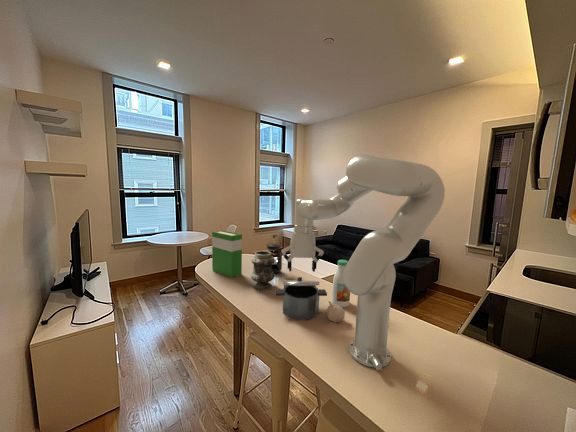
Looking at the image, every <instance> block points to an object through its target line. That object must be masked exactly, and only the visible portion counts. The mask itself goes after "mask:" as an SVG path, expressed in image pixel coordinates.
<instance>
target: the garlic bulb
mask: <svg viewBox="0 0 576 432" xmlns="http://www.w3.org/2000/svg"><path fill="white" fill-rule="evenodd" d="M328 303H329V306H327V309H326V310H327V311H326V317H327V319H328V320H329V321H331V322H334V323H339V322H342V321H344V319H345V315H346V314H345V313H346V312H345V310H344V307H340V306H338V305H336V304H333V303H332V301H328Z"/></svg>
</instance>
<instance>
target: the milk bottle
mask: <svg viewBox="0 0 576 432" xmlns="http://www.w3.org/2000/svg"><path fill="white" fill-rule="evenodd" d="M348 261H349V260H346V259H339V260H337V269H336V270H335V273H334V275H333V279H332V280H333V281H332V293H331V296H332V297H331V303H332V304H336V305H338V306H340V307H342V308H347V307H349V305H350V300H351V292H349V291H348V290H347V288H346V287H345V285H344V281H343V272H344V269H345V267H346V265H347V263H348Z"/></svg>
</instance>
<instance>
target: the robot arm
mask: <svg viewBox="0 0 576 432" xmlns="http://www.w3.org/2000/svg"><path fill="white" fill-rule="evenodd" d="M345 174H346V175H345V176H344V177H342V178H340V179H339V180H338V182H337V185H336V189H337V194H335V195H334V196H333V197H331V198H328V199H327V198H325V199H322V198H320V199H311V198H297V199H296V200H295V202H294V204H295V205H294V208H295V209H294V224H293V225H294V227H293V231H292V233H291V236H290V237H291V238H290V241H289V242H290V243H289V246H287V247H284V248H282V249H280V252H281V255H282V257H284V259H285V260H286V261H287V269H288V271H289V272H292V260H293V259H294V258H296V259H297V258H298V259H303V258H304V259H308V258H309V259H310V258H311V259H312V261H311V271H312V272H313V273H314V272H316V270H317V265H318V264H317V263H318V261H319V260H321V258H322V256H323V255H324V254H325V251H324V250H323V249H320V248H319V247H317V246H316V235H315V231H317V226H314V221H318V220H319V221H320V220H329V219H334V218H337V217H338V216H340V215H341V214H343V213H345V212H347V211H348V210H350V209H351V208H352V206H353V205H354V202H356V201H358V200H359V199H361V198H363V197H364V196H366V195H368V194H370V193H371V192H372V191H375V192H378V193H382V194H386V195H389V196H394V197H407V199H406V201H405V202H404V203H403V204H402V205H401V206H400V207H399V208H398V209H397V211H396V212H395V214H394V215H393V217H392V219H391V220H390V222H389V223H388V224H387V226H386V227H384V228H382V229H377V230H374V231H371V232H368V233H367V234H366V235H365V236H363V238H362V239H361V240H360V242H359V243H358V245H357V246H356V248H355V250H354V251H353V253H352V255H351V256H350V258H349V260H347V261H348V263H347V265H346V267H345V269H344V272H343V281H344V285H345V287H346V288H347V290H348V291H349V292H350V294H353V295H355V296H357V303H356V317H355V330H354V331H355V332H354V339H353V340H352V341H351V342H350V343H349V346H348V351H349V353H350V355H351V357H352V358H353V359H354V360H355V361H356V362H358V363H360V364H362V365H363V366H365V367H368V368H374V369H375V370H377V371H381V370H382V369H383V368H384V367H387V366H389V365H390V363H391V362H392V354H391V351H390V350H389V348H388V346H387V345H388V332H389V323H390V311H391V301H392V294H393V291H394V287H395V282H396V276H397V275H396V268H395V265H394V264H397V263H399V262H401V261H404V260H405V259H406V258H408V256H409V255H410V254H411V252H412V250H413V249H414V248H415V247H416V245H417V244H418V242H419V241H420V240H421V238H422V237H423V235H425V233H426V231H427V230H428V228H429V227H430V226H431V224H432V222H433V221H434V220H435V218H436V217H437V215H438V214H439V212H440V211H441V209H442V206H443V204H444V202H445V196H446V189H445V184H444V182H443V179H442V178H441V176H440V174H439V173H437V171H436V170H434V168H432V167H430V166H428V165H426V164H422V163H418V162H411V161H406V160H400V159H392V158H387V157H380V156H374V155H368V154H359V155H356V156H355V157H353V158H352V159H351V160H350V161H349V162H348V163H347V166H346V168H345ZM287 252H289V255H288V254H286V253H287ZM316 252H318V254H317V255H316Z"/></svg>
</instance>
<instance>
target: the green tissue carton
mask: <svg viewBox="0 0 576 432" xmlns="http://www.w3.org/2000/svg"><path fill="white" fill-rule="evenodd" d="M211 237H212V238H211V239H212V240H211V242H212V243H211V248H212V249H211V250H212V252H211V253H212V254H211V255H212V256H211V258H212V259H211V260H212V261H211V262H212V266H211V267H212V270H213V271H212V272H215V271H216V272H215V273H217V272H219V273H218V274H220V273H221V274H220V275H223V274H224V275H223V276H225V275H227V276H226V277H228V276H229V277H228V278H231V277H233V278H235V277H234V276H236V277H237V275H238V276H241V275H242V271H243V268H242V266H243V265H242V262H243V261H242V260H243V258H242V257H243V254H242V252H243V244H242V243H243V234H242V233H239V232H233V231H229V230H225V229H222V230H220V231H218V232H217V231H212V232H211ZM240 274H241V275H240Z"/></svg>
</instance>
